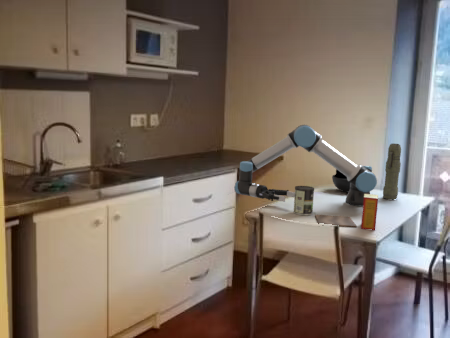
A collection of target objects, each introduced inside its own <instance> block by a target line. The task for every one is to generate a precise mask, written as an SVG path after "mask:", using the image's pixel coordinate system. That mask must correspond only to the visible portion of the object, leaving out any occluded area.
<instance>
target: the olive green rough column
mask: <svg viewBox="0 0 450 338" xmlns="http://www.w3.org/2000/svg"><path fill="white" fill-rule="evenodd" d="M387 149H388V150H387V160H386V162H385V168H384V169H385V178H384V179H385V180H384V186H383V188H382V189H383V191H382V198H383V199H384V198H386V199H385V200H388V199H396V198H397V199H398V196H399V195H398V194H399V187H398V185H399V176H400V172H401V166H402V165H401V156H402V155H401V153H402V147H401V144H399V143H390V144H389V146H388V148H387Z"/></svg>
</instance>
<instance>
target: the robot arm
mask: <svg viewBox="0 0 450 338" xmlns="http://www.w3.org/2000/svg"><path fill="white" fill-rule="evenodd" d="M299 147H301V148H302V149H304V150H305V151H306V152H308V153H314V154H315V155H317V156H318V157H320V158H321V159H322V160H324V161H325V162H326V163H327V164H329V165H330V166H332V167H333V168H335V170H336V169H337V170H338V171H340V172H341V173H342V174H344V175H345V176H346V177H347V180H348V181H349V182H350V190H349V192H347V196H346V198H345V203H346V204H348V205H350V206H356V207H363V201H364V194H371V192H372V191H374V190H375V188H376V186H377V184H378V179H377V177H376V175H375V174H374V173H373V172H372V171H373V167H372V166H371V165H370V166H369V165H362V164H356V163H354V162H353V160H351V159H349V158H348V157H347V156H346V155H344V154H342V153H341V152H340V151H339V150H337V149H336V148H334V147H333V146H332V145H330V144H329V143H328V142H326V141H325V140H324V139H323V136H322V134H320V133H319V132H317V131H316V130H315V129H314V128H312V127H311V126H310V125H308V124H301V125H300V124H299V125H298V126H297V127H295V129H293V130H292V131H291V132H288V134H287V136H286V137H284V138H283V139H281V140H279V141H277V142H276V143H275V144H273V145H272V146H269V147H268V148H266V149H265V150H263V151H261V152H260V153H258V154H256V155H255V156H253V157H252V158H251V159H249V160H247V161H245V160H244V161H240V162H239V174H238V176H239V177H238V178H239V179H238V180H237V181H236V182H235V185H234V187H233V188H234V192H235V194H238V195H241V196H249V197H253V198H257V199H265V200H268V201H271V202H273V201H279V202H286V197H290V198H295V191H294V192H293V191H290V190H289V189H276V188H272V189H271V188H268V187H267V185H262V184H257V183H256V182H254V183H253V173H254V172H256V171H257V170H259V169H261V168H262V167H264V166H265V165H267V164H269V163H270V162H272V161H275V160H276V159H277V158H278V157H281V156H282V155H284V154H285V153H287V152H289V151H291V150H292V149H297V148H299Z"/></svg>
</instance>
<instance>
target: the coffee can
mask: <svg viewBox="0 0 450 338" xmlns="http://www.w3.org/2000/svg"><path fill="white" fill-rule="evenodd" d="M294 193H295V198H294V197H293V198H294V201H293V213H294V214H295V215H298V216H311V215H313V209H314V195H315V187H313V186H308V185H296V186H294Z"/></svg>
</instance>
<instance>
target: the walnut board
mask: <svg viewBox="0 0 450 338" xmlns="http://www.w3.org/2000/svg"><path fill="white" fill-rule="evenodd" d="M314 216H315V219H316V221H317V223H318V224H319V223H324V224H332V225H339V226H338V227H342V228H343V227H345V228H357V227H358V226H357V224H356V223H355V222H354V220H353V219H352V218H351V216H344V215H330V214H329V215H328V214H314Z"/></svg>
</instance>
